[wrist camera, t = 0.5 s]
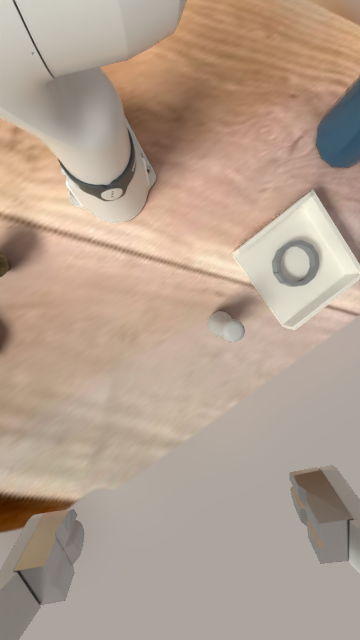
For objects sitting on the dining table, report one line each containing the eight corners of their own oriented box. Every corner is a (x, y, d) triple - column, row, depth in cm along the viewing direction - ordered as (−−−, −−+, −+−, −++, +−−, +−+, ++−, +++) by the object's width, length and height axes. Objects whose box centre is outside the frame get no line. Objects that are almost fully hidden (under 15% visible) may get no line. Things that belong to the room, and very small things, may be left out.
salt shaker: (233, 317, 54) (256, 324, 41) (222, 338, 54) (241, 352, 41) (212, 306, 53) (228, 310, 40) (201, 327, 54) (213, 338, 41)
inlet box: (282, 327, 55) (294, 330, 50) (230, 253, 52) (237, 249, 47) (347, 276, 55) (366, 274, 50) (298, 199, 52) (313, 189, 47)
